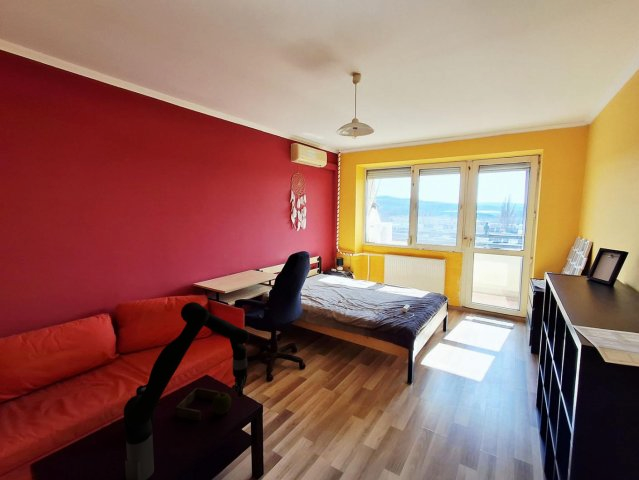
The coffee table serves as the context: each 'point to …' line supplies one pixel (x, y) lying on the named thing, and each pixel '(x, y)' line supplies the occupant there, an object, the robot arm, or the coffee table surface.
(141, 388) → the travel mug
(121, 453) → the coffee table surface
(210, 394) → the frame
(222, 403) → the apple
